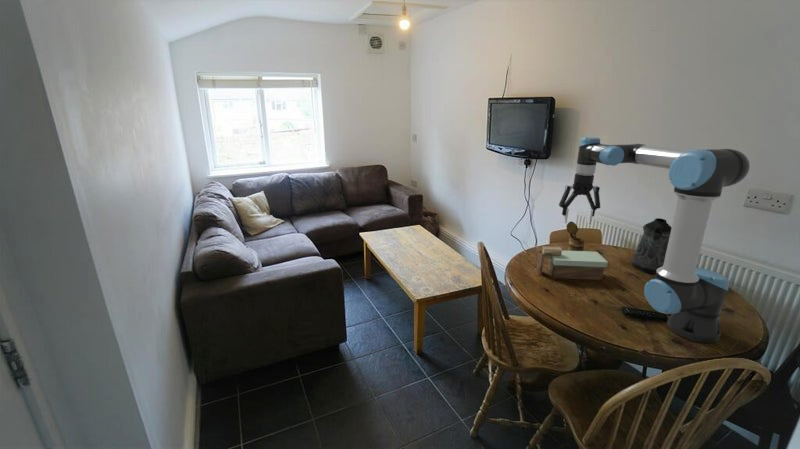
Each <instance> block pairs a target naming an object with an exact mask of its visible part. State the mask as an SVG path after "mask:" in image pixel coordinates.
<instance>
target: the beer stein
mask: <svg viewBox="0 0 800 449" xmlns="http://www.w3.org/2000/svg"><path fill="white" fill-rule="evenodd" d="M671 228H672V225H670V224H669V223H668V222H667V220H666V219H665V218H660V217H659V218H655V219H654V220H653V221H649V222H647V223H645V224H644V225H643V226H642V231H643V233H642V235H641V238H640V240H639V243H638V246H637V248H636V250H635V252H634V254H633V255H632V256H631V266H632V267H633V268H634V269H636V270H637V271H640V272H643V273H647V274H651V275H656V271H657V269H658V268H660V267H662V266H663V264H664V260H665V255H666V251H667V246H668V242H669V237H670V233H671Z"/></svg>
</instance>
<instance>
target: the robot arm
mask: <svg viewBox="0 0 800 449" xmlns="http://www.w3.org/2000/svg"><path fill="white" fill-rule="evenodd" d="M597 163H598V164H602V165H605V166H614V167H615V166H617V165H620V164H635V165H640V166H641V165H642V166H648V167H655V168H660V169H667V170H668V179H669V180H670V183H671V185H672V186H673V187H674V188H673V193H674V194H675V196H677V200H676V206H675V211H674V216H673V221H672V224H671V227H672V228H671V233H670V237H669V242H668V246H667V251H666V255H665V260H664V264H663V266H662V267H660V268H658V269H657V271H656V274H654V275H655V277H654V278H652V279H650V280H649V281H647V282H646V283H645V285H644V289H643V292H644V297H645V299H646V301H647V302H648V304H649V305H650V306H651V308H652V309H654V310H655V311H657V313H660V314H661V313H662V314H666V315H669V316H668V318H667V321H666V325H667V327H668V329H669V330H670V331H672V332H673V333H675V334H676V335H678V336H680V337H682V338H684V337H685V338H684V339H686V338H687V339H686V340H689V339H690V341H692V340H693V342H696V341H697V343H701V342H702V343H703V344H714V343H713V342H715V343H717V342H718V341H719V340H720V337H721V326H720V315H721V312H722V310H723V306H724V303H725V301H726V297H727V295H728V294H727V293H728V291H729V286H730V280H729V279H728V278H727V277H726V276H724V275H723V274H721V273H719V272H716V271H714V270H710V269H707V268H703V267H698V266H697V265H698V262H699V256H700V254H701V249H702V244H703V241H704V236H705V233H706V229H707V226H708V222H709V217H710V213H711V210H712V209H711V208H712V204H713V202H714V201H715V200H717V199H719V198H721V196H722V192H723V189H724V187H726V188H727V187H731V186H734V185H736V184H738V183H740V182H741V181H742V180H745V178H746V177H747V175H748V174H749V171H750V161H749V159H748V157H747V155H745V153H743V152H741V151H739V150H737V149H732V148H721V149H720V148H717V149H716V148H715V149H713V148H712V149H701V148H700V149H699V148H698V149H695V150H691V149H683V148H674V147H673V148H672V147H664V146H654V145H646V144H644V143H643V144H642V143H633V144H632V143H631V144H604V143H603V144H602V143H601V138H600V137H594V136H583V137H582V138H581V139H580V142H579V146H578V154H577V161H576V167H575V174H574V178H573V179H574V180H573V183H572V185H568V184H566V185H565V189H564V193H563V195H562V196H561V199H560V201H559V203H558V206H559V207H560V208H562V212H561V215H562V216H563V219H562V222H563V223H564V224H568V216H569V211H570V209H569V206H570V205H571V204H572V203H573V201H574V200H575V198H577V197H578V196H581V195H583V196H585V197H586V199H587V200H588V201H587V202H588V203H589V206H590V207H589V208H588V212H587V218H586V223H587V224H588V225H591V224H592V219H593V217H594V216H595V213H596V211H597V210H598V209H601V199H600V189H601V188H600V187H599V186H598V185H593V184H594V180H595V175H594V174H595V172H596V166H597ZM572 189H573V191H572V192H571V190H572ZM591 191H593V196H594V198H592V194H591ZM570 192H571V194H570ZM569 195H570V196H569ZM593 199H594V200H593ZM702 343H701V344H702Z"/></svg>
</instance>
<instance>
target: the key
mask: <svg viewBox="0 0 800 449" xmlns="http://www.w3.org/2000/svg"><path fill="white" fill-rule="evenodd" d="M541 250H542V253H543V254H552V255H561V253H562V250H563V248H562V247H561V246H546V245H545V246H542V249H541Z"/></svg>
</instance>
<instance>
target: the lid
mask: <svg viewBox="0 0 800 449" xmlns="http://www.w3.org/2000/svg"><path fill="white" fill-rule="evenodd" d="M550 260H551V261H552V263H553V264H554V265H564V266H588V267H604V268H607V267H608V263H609V262H608V260H606V259H605V257H603V256H602V255H601V254H600V253H599V252H598V251H588V250H587V251H586V250H584V251H567V250H563V249H562V253H561V255H552V258H550Z"/></svg>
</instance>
